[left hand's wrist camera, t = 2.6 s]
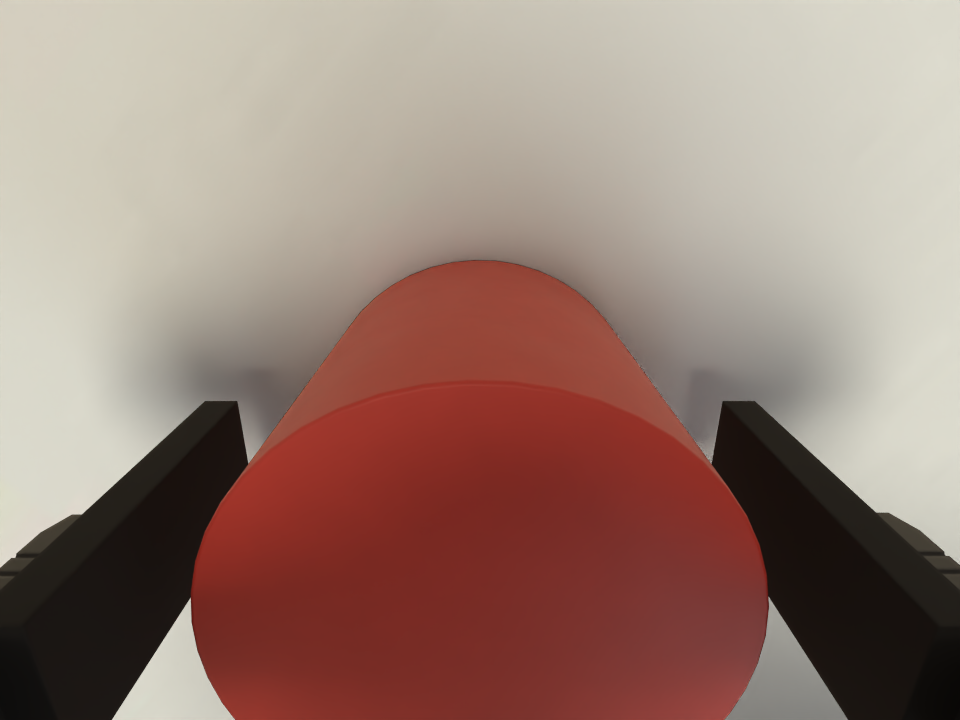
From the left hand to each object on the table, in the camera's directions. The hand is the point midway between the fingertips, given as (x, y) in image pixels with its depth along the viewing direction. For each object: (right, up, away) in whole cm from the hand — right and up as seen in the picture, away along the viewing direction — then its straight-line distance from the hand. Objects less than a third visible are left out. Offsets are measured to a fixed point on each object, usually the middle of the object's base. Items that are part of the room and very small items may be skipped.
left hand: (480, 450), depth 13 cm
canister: (0, +1, +2) cm, 2 cm away
